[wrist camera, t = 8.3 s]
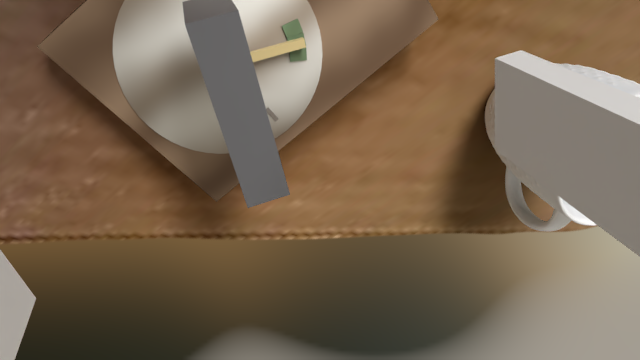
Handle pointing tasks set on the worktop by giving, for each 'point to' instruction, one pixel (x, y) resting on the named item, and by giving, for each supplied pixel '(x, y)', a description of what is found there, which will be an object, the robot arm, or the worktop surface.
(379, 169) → the worktop surface
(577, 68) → the mug
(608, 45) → the worktop surface
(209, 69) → the peg knob
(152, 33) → the tuner board
